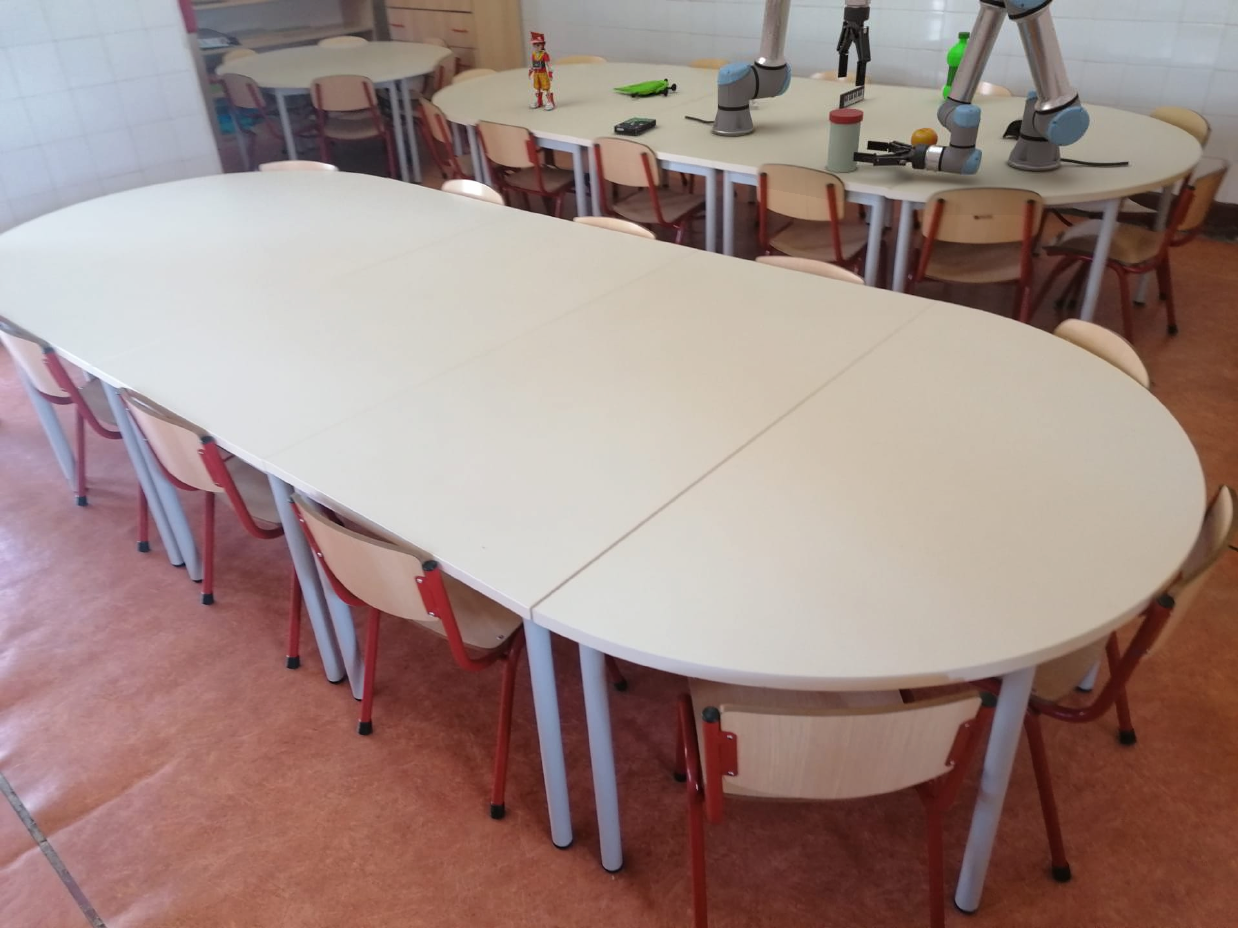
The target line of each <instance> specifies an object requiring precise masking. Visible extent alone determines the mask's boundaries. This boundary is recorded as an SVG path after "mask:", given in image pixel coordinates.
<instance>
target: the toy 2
mask: <svg viewBox="0 0 1238 928" xmlns="http://www.w3.org/2000/svg"><path fill="white" fill-rule="evenodd" d="M669 85H670V83H669V79H668V78H664V79H663V80H649V81H644V82H640V83H634V84H629V85H627V86H621V87H613V88H612V89H613V90H616V91H619V92H623V93H627V94H628V93H629V94H631V95H630V96H631V98H632V99H634V98H636V96H637V95H650V94H652V93H654V94H658V93H662V95H663V96H665V97H667V96H668V95H669V90H671V91H672V92H676V91H677V84H676V83H672V84H671V86H669Z"/></svg>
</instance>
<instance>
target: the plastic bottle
mask: <svg viewBox="0 0 1238 928" xmlns="http://www.w3.org/2000/svg"><path fill="white" fill-rule="evenodd" d="M970 35H971V32H970V31H959V32H958V36H957V39H958V42H957V43H956V44H954V45H953V46H952V47H951V48H950V49H949V50H948V52H947V54H946V63H947V64H948V69H947V70H948V71H947V76H946V77H947V78H946V84H945V85H944V87H943V90H942V97H943V99H944V101H946V99H947V96H948V94H949V91H950V88H951V86H952V83H953V80H954V78H955V75H956V72H957V70H958V67H959V64H960V62H961V59H962V56H963V54H964V51H965V48H966V45H967V43H968V40H969V37H970Z"/></svg>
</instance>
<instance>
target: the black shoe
mask: <svg viewBox="0 0 1238 928" xmlns="http://www.w3.org/2000/svg"><path fill="white" fill-rule="evenodd" d="M1022 119H1023V115H1022V116H1020V117H1018V118H1016V119H1014V120H1013V121H1011V122H1010V123H1009V124H1008V125H1007V127H1006V129H1005V131H1004V133H1003V135H1002V139H1004V138H1006V137H1013V138H1015V139H1016V140H1018V139H1019V135H1020V130H1021V125H1022Z"/></svg>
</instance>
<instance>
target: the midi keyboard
mask: <svg viewBox="0 0 1238 928" xmlns="http://www.w3.org/2000/svg"><path fill="white" fill-rule="evenodd" d="M865 89H866V86H857V87H856V88H854V89H851V90H849V91H846V92H844V93H841V94H840V95H839V102H838V103H839V105H838V109H844V108H846V107H847V106H850V105H852V104H854V103H858V102H859V101H862V100H864V99H865Z"/></svg>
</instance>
